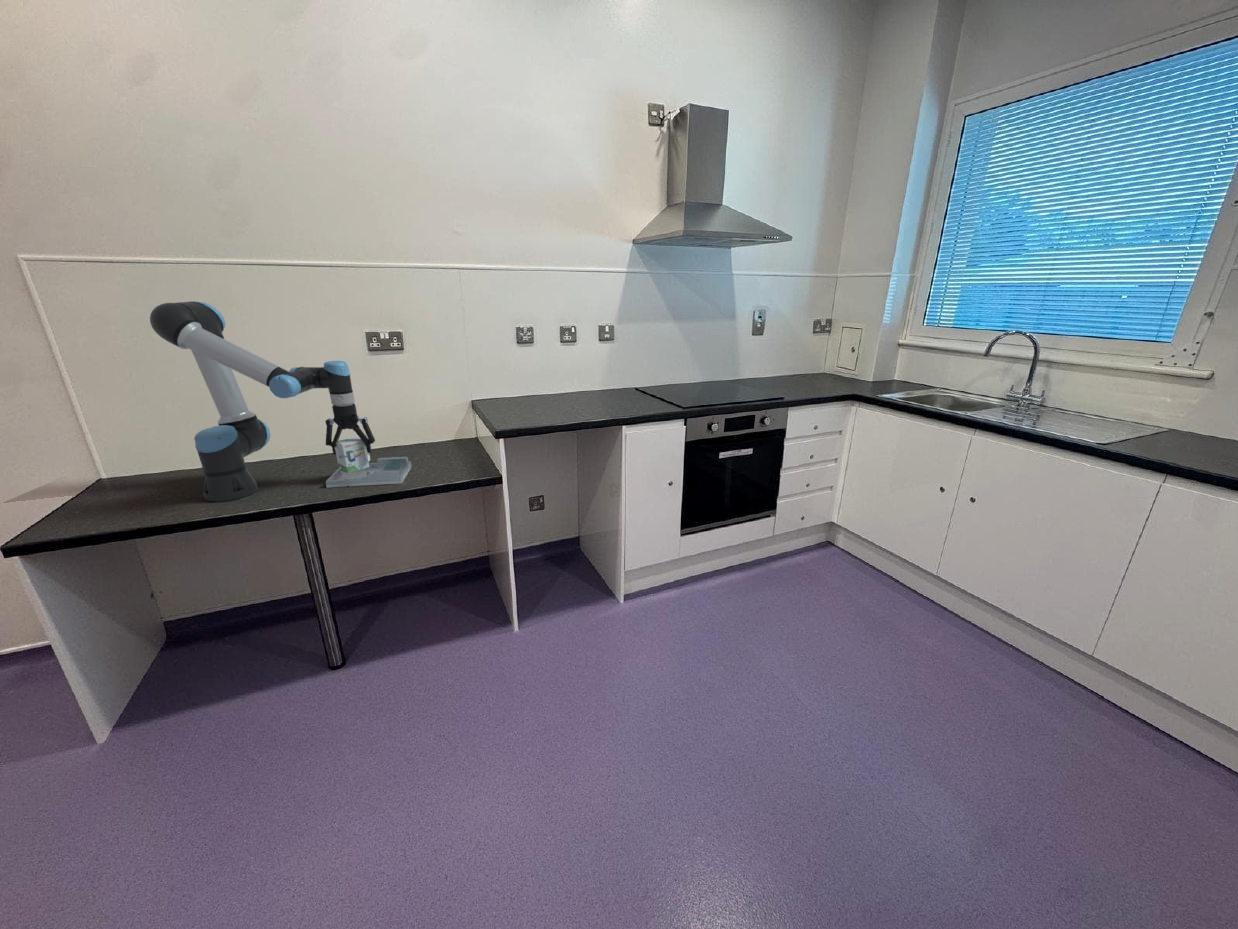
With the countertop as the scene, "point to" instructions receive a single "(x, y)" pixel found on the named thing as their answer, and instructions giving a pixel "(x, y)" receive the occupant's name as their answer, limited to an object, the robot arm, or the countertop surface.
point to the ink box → (352, 454)
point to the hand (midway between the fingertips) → (354, 461)
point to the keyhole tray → (373, 473)
